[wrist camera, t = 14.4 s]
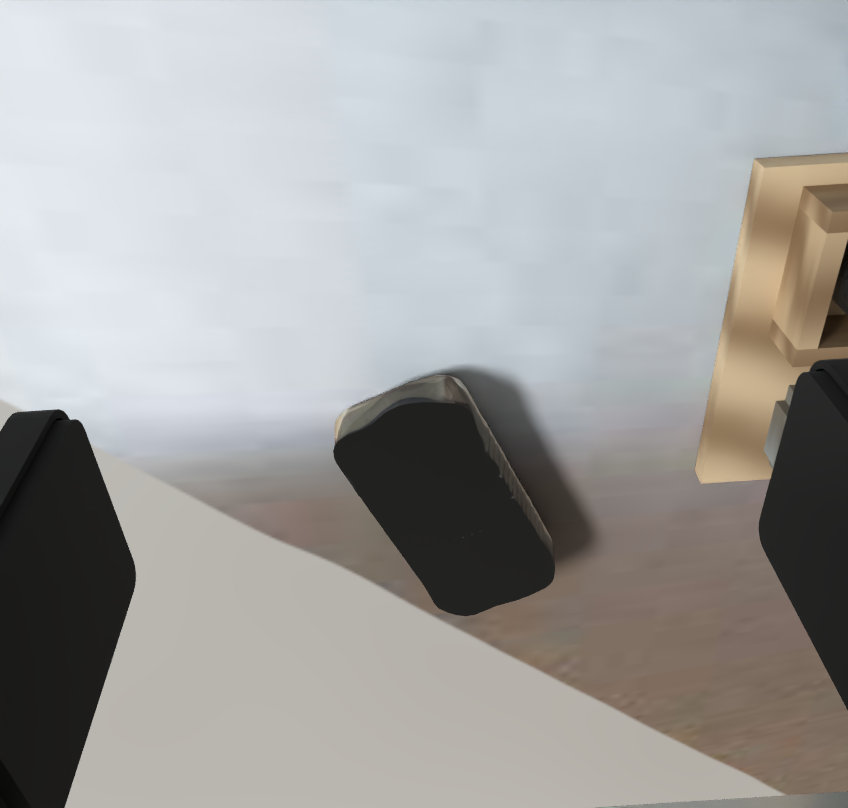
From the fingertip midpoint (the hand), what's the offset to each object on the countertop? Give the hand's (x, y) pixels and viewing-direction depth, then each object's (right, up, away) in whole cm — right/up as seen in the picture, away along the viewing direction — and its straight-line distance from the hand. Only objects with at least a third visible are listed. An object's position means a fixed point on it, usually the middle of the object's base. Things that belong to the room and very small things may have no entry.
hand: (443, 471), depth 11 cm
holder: (+22, +5, +32) cm, 39 cm away
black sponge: (+1, -3, +38) cm, 38 cm away
